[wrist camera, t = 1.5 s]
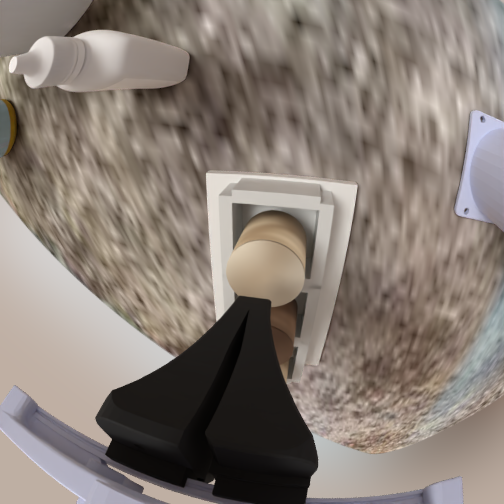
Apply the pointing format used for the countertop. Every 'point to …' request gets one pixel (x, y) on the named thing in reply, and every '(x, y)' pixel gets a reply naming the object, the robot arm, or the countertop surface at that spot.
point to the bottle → (7, 127)
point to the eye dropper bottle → (101, 62)
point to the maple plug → (269, 258)
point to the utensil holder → (36, 21)
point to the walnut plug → (284, 329)
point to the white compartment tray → (317, 248)
